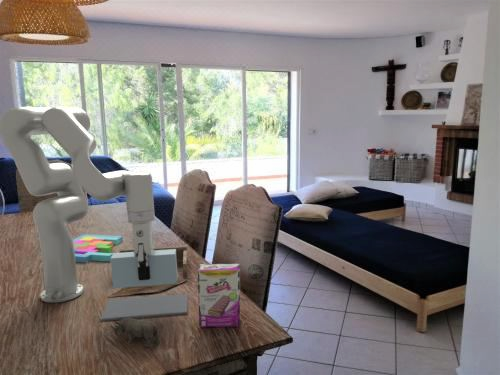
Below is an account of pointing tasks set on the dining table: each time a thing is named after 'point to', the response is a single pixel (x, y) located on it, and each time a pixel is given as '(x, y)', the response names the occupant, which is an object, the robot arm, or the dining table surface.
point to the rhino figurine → (137, 330)
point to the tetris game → (95, 247)
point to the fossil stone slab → (144, 289)
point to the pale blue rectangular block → (159, 263)
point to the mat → (145, 307)
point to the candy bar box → (219, 295)
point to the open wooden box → (180, 255)
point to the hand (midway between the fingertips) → (145, 275)
